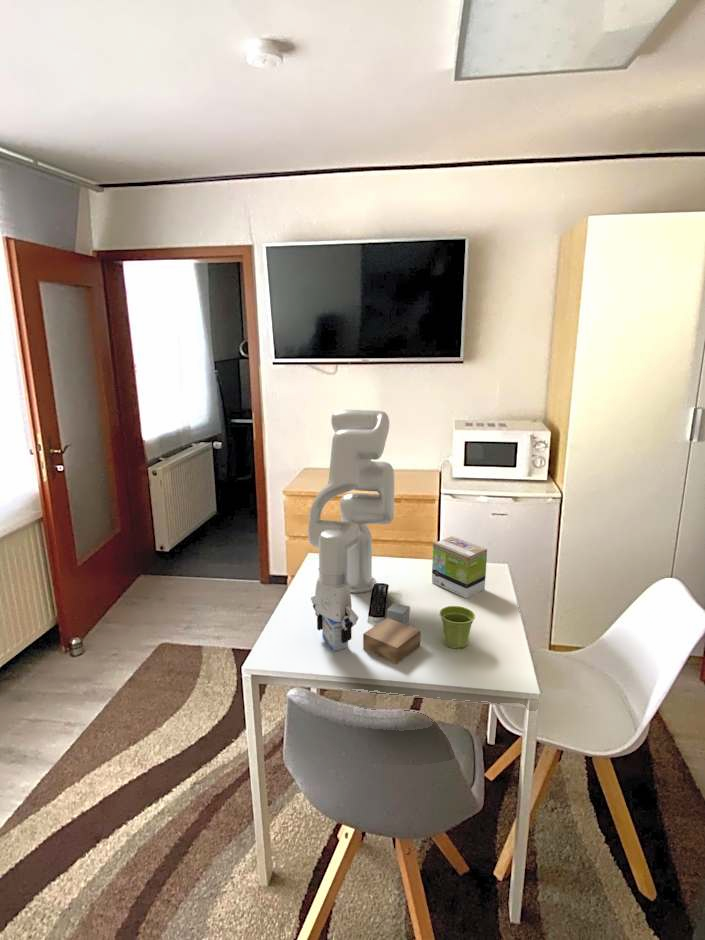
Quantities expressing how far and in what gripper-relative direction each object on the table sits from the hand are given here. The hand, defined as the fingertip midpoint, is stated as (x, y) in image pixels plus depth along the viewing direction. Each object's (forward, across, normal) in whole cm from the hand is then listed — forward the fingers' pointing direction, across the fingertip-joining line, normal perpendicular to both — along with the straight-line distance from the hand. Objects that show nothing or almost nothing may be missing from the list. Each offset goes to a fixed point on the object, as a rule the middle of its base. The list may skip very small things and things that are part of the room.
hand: (334, 634), depth 156 cm
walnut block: (+3, +13, +9) cm, 16 cm away
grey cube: (+3, +6, +20) cm, 21 cm away
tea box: (+3, +5, +52) cm, 52 cm away
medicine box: (+3, 0, 0) cm, 3 cm away
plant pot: (+3, +24, +23) cm, 33 cm away
